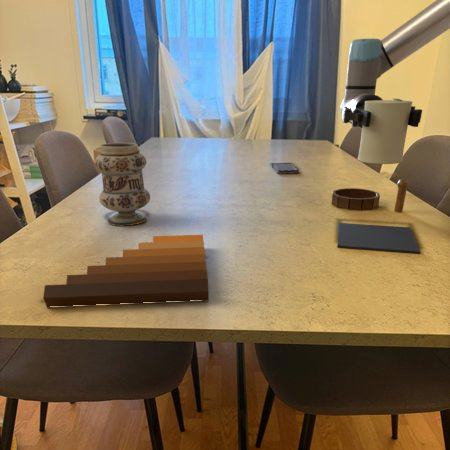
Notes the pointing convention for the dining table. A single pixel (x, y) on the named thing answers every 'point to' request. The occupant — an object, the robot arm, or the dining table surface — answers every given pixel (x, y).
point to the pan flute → (140, 276)
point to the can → (385, 131)
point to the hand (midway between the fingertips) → (392, 119)
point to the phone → (284, 168)
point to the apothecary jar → (123, 182)
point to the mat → (377, 238)
